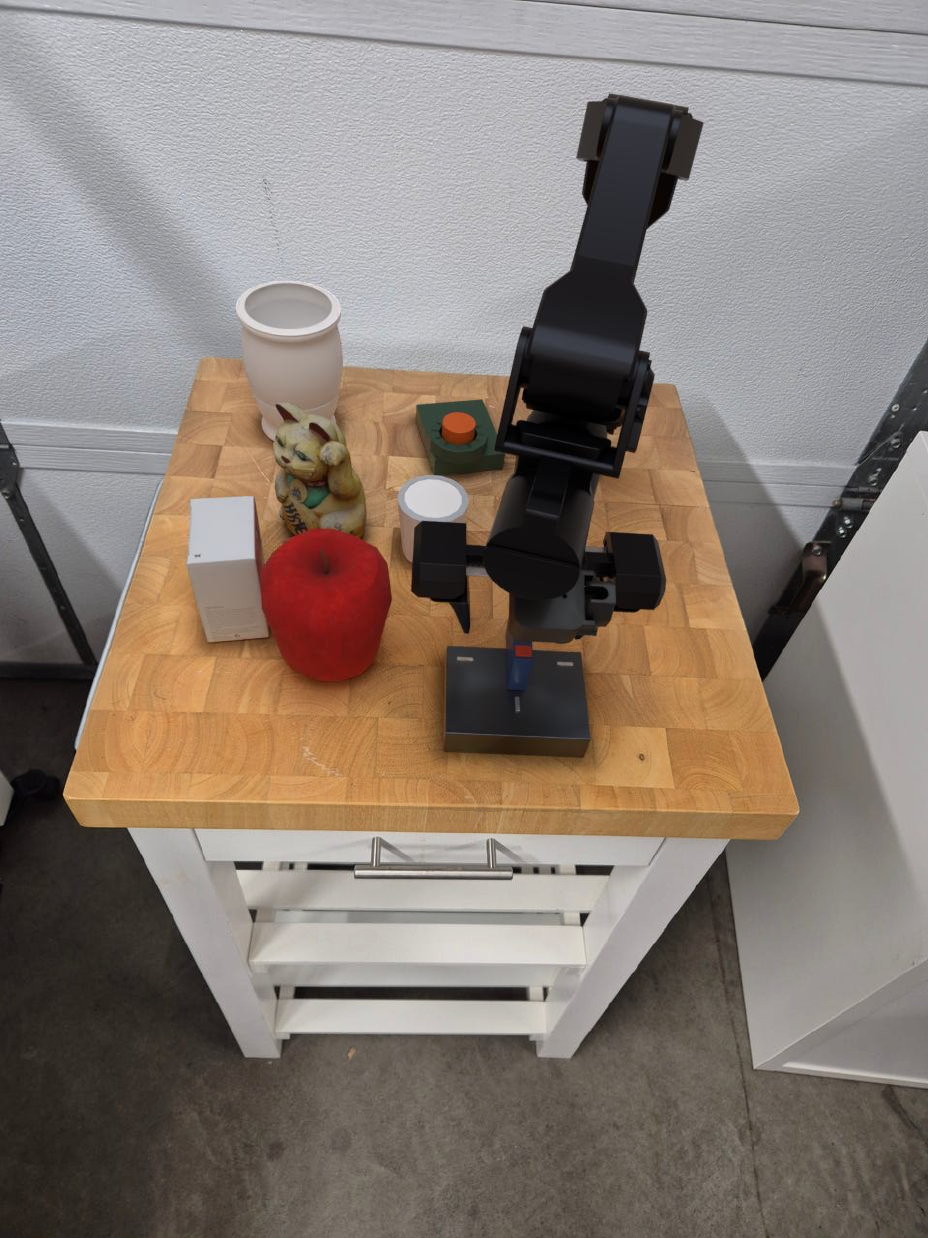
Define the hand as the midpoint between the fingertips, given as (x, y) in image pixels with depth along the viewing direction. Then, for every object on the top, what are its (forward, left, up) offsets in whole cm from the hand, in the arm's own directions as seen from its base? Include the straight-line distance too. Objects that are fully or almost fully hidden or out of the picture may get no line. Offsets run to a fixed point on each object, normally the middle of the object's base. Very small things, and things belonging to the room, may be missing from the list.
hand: (521, 632), depth 68 cm
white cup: (-6, -17, -8) cm, 19 cm away
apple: (+10, -13, -8) cm, 18 cm away
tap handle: (0, 0, -4) cm, 4 cm away
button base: (-20, -27, -7) cm, 34 cm away
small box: (+13, -23, -8) cm, 27 cm away
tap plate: (+1, +1, -7) cm, 7 cm away
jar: (-8, -41, -8) cm, 42 cm away
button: (-18, -25, -4) cm, 31 cm away
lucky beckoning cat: (0, -26, -8) cm, 27 cm away
